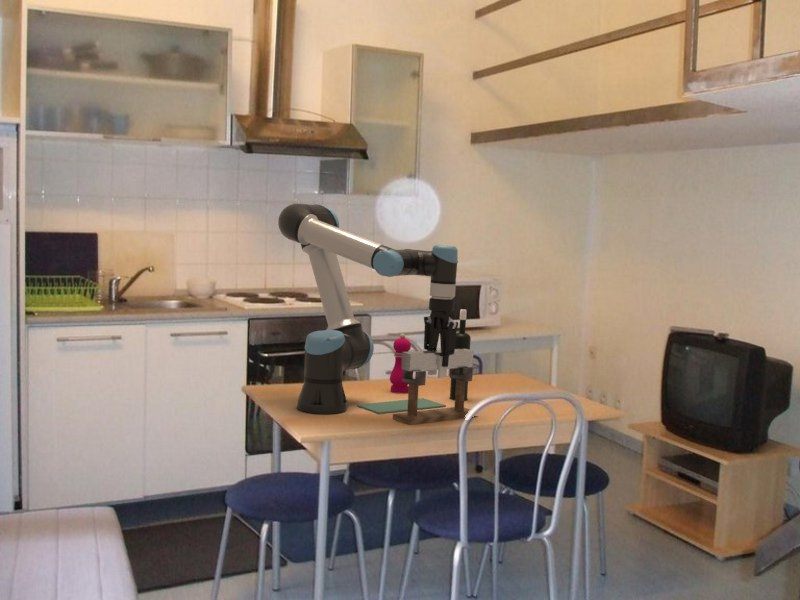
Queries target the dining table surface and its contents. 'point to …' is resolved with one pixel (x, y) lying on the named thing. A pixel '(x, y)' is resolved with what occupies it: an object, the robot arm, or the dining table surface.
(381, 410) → the mat
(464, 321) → the wine bottle
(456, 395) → the hook stand
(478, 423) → the dining table surface
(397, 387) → the pepper mill
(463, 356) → the rail
